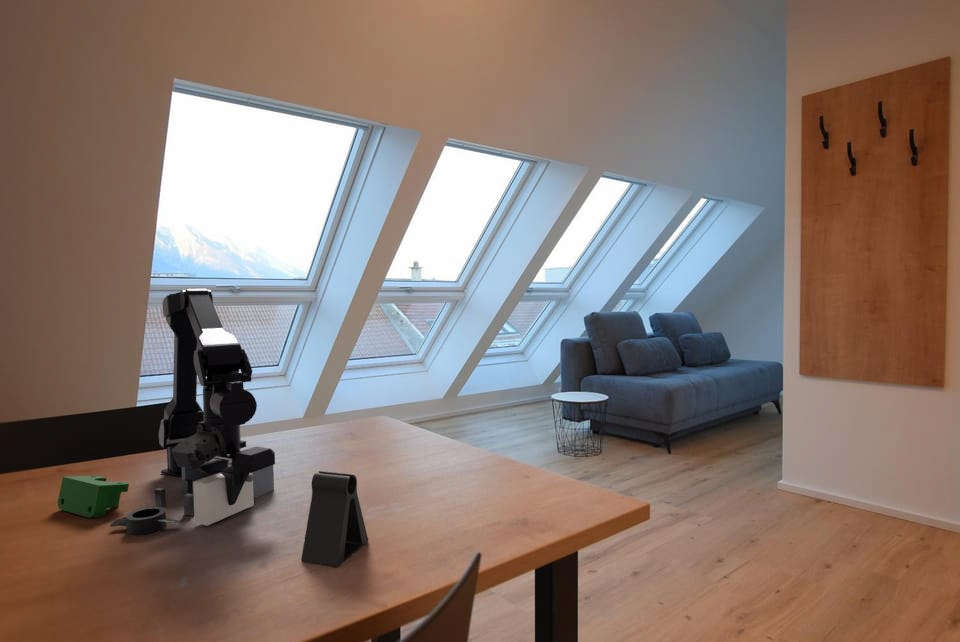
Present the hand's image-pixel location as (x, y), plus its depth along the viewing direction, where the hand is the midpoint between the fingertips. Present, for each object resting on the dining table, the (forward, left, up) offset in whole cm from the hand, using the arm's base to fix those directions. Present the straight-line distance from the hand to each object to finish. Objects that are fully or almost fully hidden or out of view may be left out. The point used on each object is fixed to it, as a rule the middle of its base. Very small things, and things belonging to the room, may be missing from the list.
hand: (224, 503), depth 104 cm
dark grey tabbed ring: (-8, -9, -3) cm, 12 cm away
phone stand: (+27, -3, -3) cm, 27 cm away
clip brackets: (-10, +1, -2) cm, 11 cm away
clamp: (-25, -7, -3) cm, 26 cm away
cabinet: (-10, +10, -2) cm, 15 cm away
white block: (0, 0, -2) cm, 2 cm away
